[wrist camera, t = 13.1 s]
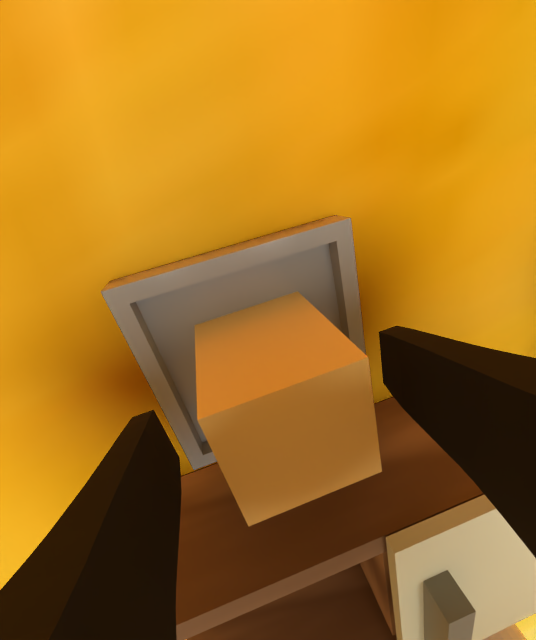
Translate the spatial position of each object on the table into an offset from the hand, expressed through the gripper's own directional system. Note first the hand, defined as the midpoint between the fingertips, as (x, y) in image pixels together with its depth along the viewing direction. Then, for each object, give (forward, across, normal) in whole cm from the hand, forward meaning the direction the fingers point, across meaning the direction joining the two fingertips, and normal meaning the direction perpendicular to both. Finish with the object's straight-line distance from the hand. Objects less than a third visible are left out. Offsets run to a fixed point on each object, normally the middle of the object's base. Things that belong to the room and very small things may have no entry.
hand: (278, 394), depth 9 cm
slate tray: (+3, 0, 0) cm, 3 cm away
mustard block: (+3, 0, 0) cm, 3 cm away
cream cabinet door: (-2, -6, +11) cm, 13 cm away
